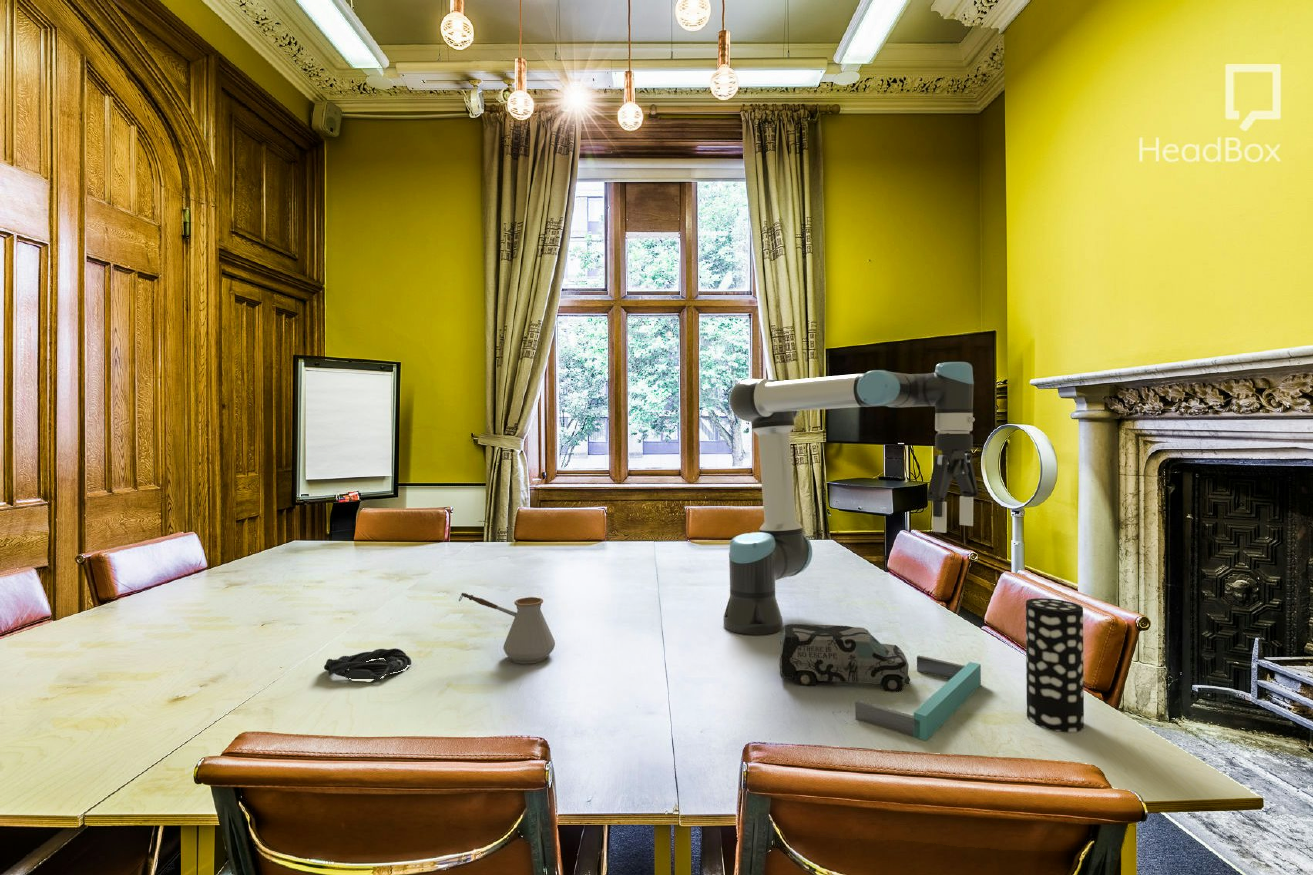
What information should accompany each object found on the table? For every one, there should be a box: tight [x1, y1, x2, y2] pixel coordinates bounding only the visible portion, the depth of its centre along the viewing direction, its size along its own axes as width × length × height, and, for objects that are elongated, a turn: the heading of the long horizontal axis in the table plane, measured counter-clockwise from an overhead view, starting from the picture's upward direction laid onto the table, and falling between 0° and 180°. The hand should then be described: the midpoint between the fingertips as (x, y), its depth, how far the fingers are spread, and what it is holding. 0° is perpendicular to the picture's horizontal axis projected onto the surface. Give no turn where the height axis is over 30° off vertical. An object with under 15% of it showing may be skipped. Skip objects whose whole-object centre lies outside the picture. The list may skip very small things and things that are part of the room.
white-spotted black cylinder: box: [1025, 597, 1085, 733], centre depth 108 cm, size 8×8×20 cm
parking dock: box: [854, 654, 982, 741], centre depth 117 cm, size 12×30×4 cm, turn 138°
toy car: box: [778, 623, 911, 693], centre depth 127 cm, size 11×25×10 cm, turn 79°
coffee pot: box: [458, 592, 556, 665], centre depth 142 cm, size 21×12×15 cm, turn 91°
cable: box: [323, 647, 412, 680], centre depth 135 cm, size 17×14×4 cm
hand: (953, 528), depth 139 cm, fingers open, 13 cm apart
